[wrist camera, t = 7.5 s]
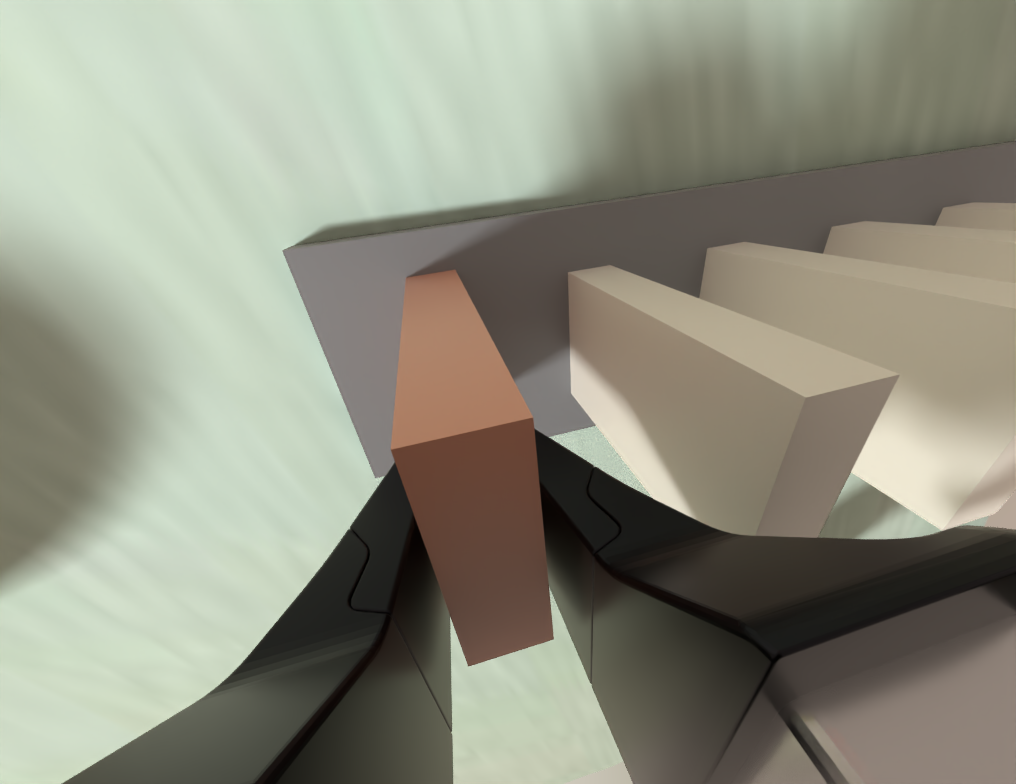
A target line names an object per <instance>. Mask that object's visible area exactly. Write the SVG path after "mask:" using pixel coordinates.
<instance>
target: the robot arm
mask: <svg viewBox="0 0 1016 784" xmlns="http://www.w3.org/2000/svg"><path fill="white" fill-rule="evenodd" d="M534 431H535V442H536V452H537V463H538V474H539V485H540V496H541V507H542V517H543V528H544V539H545V550H546V561H547V572H548V583H549V587H550V589H551V592H552V594H553V596H554V599H555V601H556V603H557V606H558V608H559V610H560V613H561V615H562V618H563V620H564V622H565V625H566V627H567V629H568V632H569V634H570V636H571V639H572V641H573V643H574V646H575V648H576V650H577V653H578V655H579V657H580V660H581V662H582V664H583V667H584V669H585V672H586V674H587V676H588V679H589V681H590V683H591V684H592V688H593V691H594V693H595V695H596V698H597V700H598V702H599V705H600V707H601V709H602V712H603V714H604V716H605V719H606V721H607V723H608V726H609V728H610V730H611V733H612V735H613V737H614V740H615V742H616V744H617V747H618V749H619V751H620V754H621V756H622V759H623V761H624V763H625V766H626V768H627V770H628V772H629V775H630V777H631V779H632V782H633V784H1016V530H1013V529H1006V528H996V527H983V526H969V525H966V526H958V527H953V528H949V529H946V530H943V531H940V532H937V533H934V534H930V535H926V536H922V537H914V538H904V539H838V538H809V537H780V536H751V535H740V534H733V533H729V532H725V531H722V530H719V529H716V528H713V527H711V526H708V525H706V524H704V523H702V522H700V521H698V520H696V519H694V518H692V517H689V516H687V515H685V514H683V513H681V512H679V511H677V510H675V509H673V508H671V507H669V506H667V505H665V504H663V503H661V502H659V501H657V500H655V499H653V498H651V497H649V496H647V495H645V494H643V493H641V492H639V491H637V490H635V489H633V488H631V487H629V486H628V485H626V484H624V483H622V482H621V481H619V480H617V479H615V478H614V477H612V476H610V475H609V474H607V473H605V472H604V471H602V470H600V469H599V468H597V467H594V466H593V465H592V464H591V463H589V462H587V461H586V460H584V459H583V458H581V457H579V456H578V455H576V454H575V453H573V452H571V451H570V450H568V449H567V448H565V447H563V446H562V445H560V444H559V443H557V442H555V441H554V440H552V439H551V438H549V437H547V436H546V435H544V434H543V433H541V432H539V431H538V430H536V429H535V428H534ZM451 732H452V696H451V641H450V614H449V611H448V608H447V606H446V603H445V600H444V597H443V594H442V592H441V589H440V586H439V583H438V580H437V578H436V575H435V572H434V569H433V567H432V564H431V561H430V558H429V555H428V553H427V550H426V547H425V544H424V541H423V539H422V536H421V533H420V530H419V528H418V525H417V522H416V519H415V516H414V514H413V511H412V508H411V505H410V502H409V500H408V497H407V494H406V491H405V489H404V486H403V483H402V480H401V477H400V475H399V472H398V469H397V466H396V463H395V462H394V464H393V465H392V467H391V468H390V469H389V471H388V472H387V474H386V475H385V477H384V478H383V480H382V481H381V483H380V484H379V485H378V487H377V488H376V490H375V491H374V493H373V494H372V496H371V497H370V499H369V500H368V502H367V503H366V504H365V506H364V507H363V509H362V510H361V512H360V513H359V515H358V516H357V518H356V519H355V520H354V522H353V523H352V525H351V526H350V529H349V530H347V532H346V533H345V535H344V536H343V538H342V539H341V541H340V542H339V543H338V545H337V546H336V548H335V549H334V550H333V552H332V553H331V555H330V556H329V557H328V559H327V560H326V561H325V563H324V564H323V565H322V567H321V568H320V569H319V570H318V572H317V573H316V574H315V576H314V577H313V578H312V579H311V581H310V582H309V583H308V584H307V586H306V587H305V588H304V589H303V591H302V592H301V593H300V594H299V595H298V597H297V598H296V599H295V600H294V601H293V603H292V604H291V605H290V606H289V607H288V609H287V610H286V611H285V612H284V613H283V615H282V616H281V617H280V618H279V620H278V621H277V622H276V623H275V624H274V626H273V627H272V628H271V629H270V630H269V632H268V633H267V634H266V635H265V636H264V638H263V639H262V640H261V641H260V642H259V644H258V645H257V646H256V647H255V648H254V650H253V651H252V652H251V653H250V654H249V656H248V657H247V658H246V659H245V660H244V661H243V662H242V664H241V665H240V666H239V667H238V668H237V669H236V670H235V671H234V672H233V673H232V674H231V675H230V676H229V677H228V678H227V679H225V680H224V681H223V682H222V683H221V684H220V685H219V686H217V687H216V688H215V689H214V690H212V691H211V692H210V693H208V694H207V695H206V696H204V697H203V698H201V699H200V700H198V701H197V702H195V703H194V704H192V705H190V706H189V707H187V708H185V709H184V710H182V711H181V712H179V713H177V714H176V715H174V716H172V717H171V718H169V719H167V720H166V721H164V722H162V723H161V724H159V725H158V726H156V727H154V728H153V729H151V730H149V731H148V732H146V733H144V734H143V735H141V736H139V737H138V738H136V739H134V740H133V741H131V742H130V743H128V744H126V745H125V746H123V747H121V748H120V749H118V750H116V751H115V752H113V753H111V754H110V755H108V756H107V757H105V758H103V759H102V760H100V761H98V762H97V763H95V764H93V765H92V766H90V767H88V768H87V769H85V770H83V771H82V772H80V773H79V774H77V775H75V776H74V777H72V778H70V779H69V780H67V781H65V782H64V783H62V784H453V746H452V733H451Z"/></svg>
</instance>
